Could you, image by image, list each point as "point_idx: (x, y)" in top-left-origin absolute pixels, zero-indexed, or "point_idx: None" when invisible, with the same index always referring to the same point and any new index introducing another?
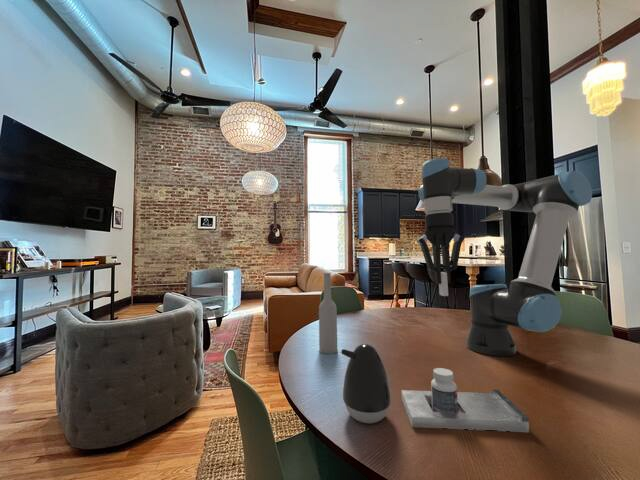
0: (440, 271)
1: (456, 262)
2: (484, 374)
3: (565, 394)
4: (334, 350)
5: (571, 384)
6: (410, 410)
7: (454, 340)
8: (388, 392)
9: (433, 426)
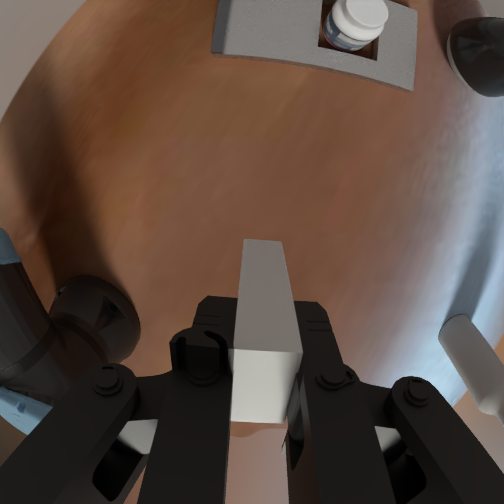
0: (313, 371)
1: (55, 429)
2: (169, 183)
3: (75, 101)
4: (452, 321)
5: (44, 144)
6: (415, 25)
7: (154, 370)
8: (465, 23)
9: None
